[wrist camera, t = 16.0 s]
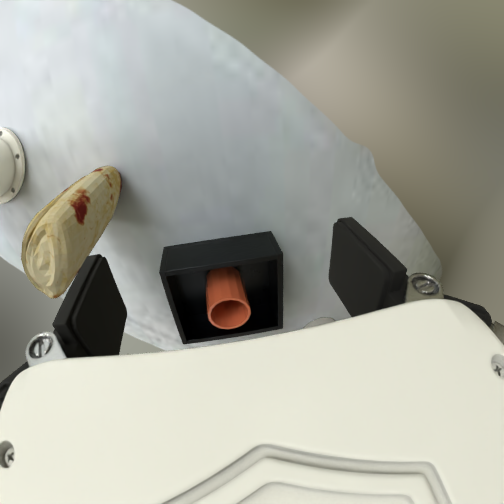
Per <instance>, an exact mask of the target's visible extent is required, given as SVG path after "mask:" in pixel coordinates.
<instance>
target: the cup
mask: <svg viewBox="0 0 504 504" xmlns="http://www.w3.org/2000/svg"><path fill="white" fill-rule="evenodd" d="M205 288H206V301H207V313H208V318H209V321H210V322H211V323H212V324H213V325H214V326H216V327H218V328H221V329H233V328H237V327H239V326H241V325H243V324H244V323H245V322H246V321H247V320H248V319H249V317H250V314H251V311H250V305H249V301H248V298H247V294H246V290H245V286H244V282H243V278H242V276H241V274H240V272H239V271H238V270H237V269H236V268H234V267H225V268H218V269H212V270H211V271H210V272H209V273H208V274H207V276H206V280H205Z"/></svg>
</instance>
